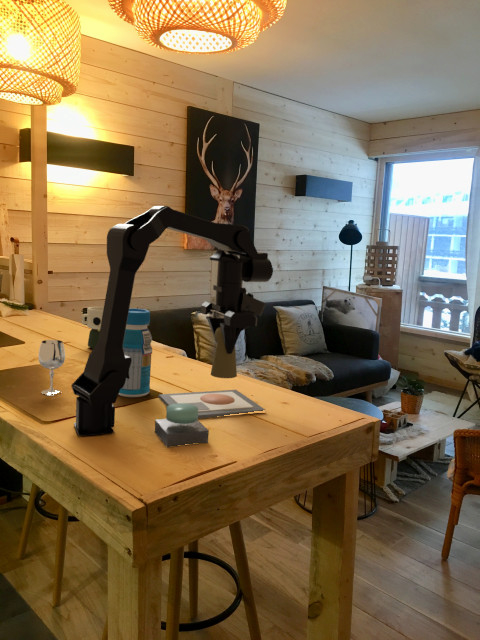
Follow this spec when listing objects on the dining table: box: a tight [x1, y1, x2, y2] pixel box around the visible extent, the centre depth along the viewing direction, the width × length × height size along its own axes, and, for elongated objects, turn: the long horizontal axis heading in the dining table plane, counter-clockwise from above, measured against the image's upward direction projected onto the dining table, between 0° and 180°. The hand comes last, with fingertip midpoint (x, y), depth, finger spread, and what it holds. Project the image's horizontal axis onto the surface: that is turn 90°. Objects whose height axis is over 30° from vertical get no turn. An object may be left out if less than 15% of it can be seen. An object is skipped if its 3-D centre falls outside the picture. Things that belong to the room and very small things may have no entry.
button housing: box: [154, 418, 210, 448], centre depth 103 cm, size 8×8×2 cm
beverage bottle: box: [118, 308, 153, 398], centre depth 128 cm, size 8×8×20 cm
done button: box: [165, 403, 199, 424], centre depth 103 cm, size 6×6×2 cm
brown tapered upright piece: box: [210, 327, 238, 379], centre depth 122 cm, size 6×6×11 cm
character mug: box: [81, 306, 104, 349], centre depth 174 cm, size 11×7×13 cm, turn 124°
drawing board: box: [158, 389, 266, 420], centre depth 124 cm, size 20×16×1 cm
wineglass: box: [38, 339, 66, 396], centre depth 124 cm, size 6×6×12 cm
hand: (225, 351), depth 122 cm, fingers closed on brown tapered upright piece, 5 cm apart
